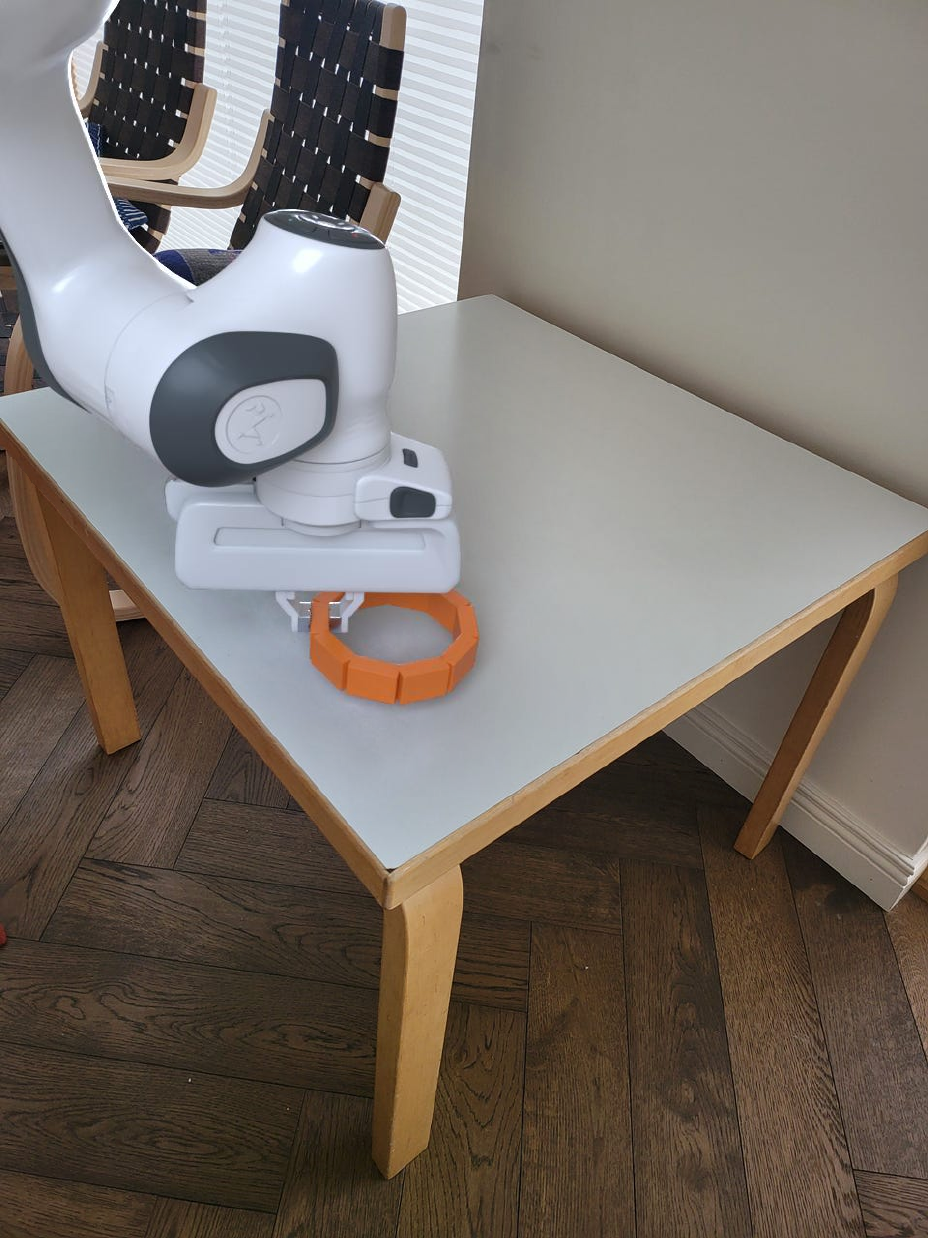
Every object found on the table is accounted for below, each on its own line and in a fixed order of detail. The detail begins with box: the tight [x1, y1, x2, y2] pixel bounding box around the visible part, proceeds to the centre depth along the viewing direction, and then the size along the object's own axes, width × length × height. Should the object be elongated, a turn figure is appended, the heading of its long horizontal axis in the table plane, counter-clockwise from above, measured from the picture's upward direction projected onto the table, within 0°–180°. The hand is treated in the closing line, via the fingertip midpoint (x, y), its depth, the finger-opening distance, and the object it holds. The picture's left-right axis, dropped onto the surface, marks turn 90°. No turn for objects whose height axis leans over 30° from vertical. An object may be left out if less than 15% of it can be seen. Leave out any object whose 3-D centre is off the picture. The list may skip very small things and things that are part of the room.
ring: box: [309, 588, 480, 706], centre depth 71 cm, size 13×13×3 cm
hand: (319, 627), depth 70 cm, fingers closed on ring
